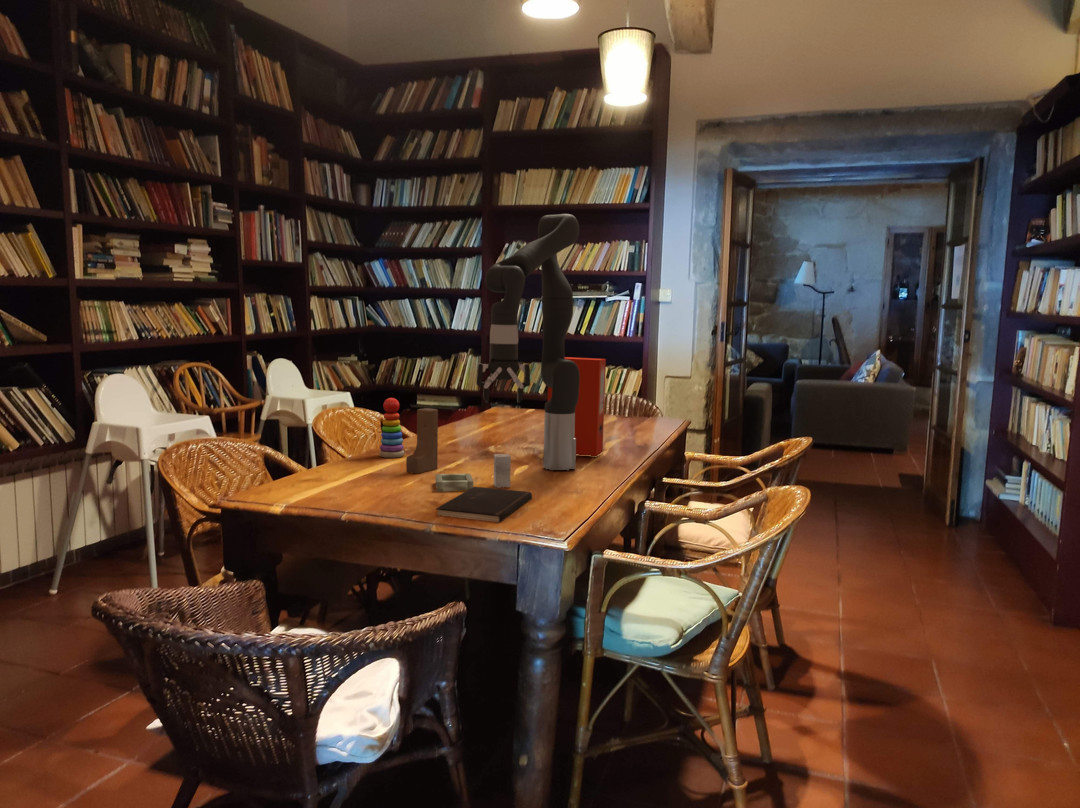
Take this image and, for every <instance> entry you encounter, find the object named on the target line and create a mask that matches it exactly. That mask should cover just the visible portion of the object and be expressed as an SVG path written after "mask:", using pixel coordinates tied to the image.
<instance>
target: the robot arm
mask: <svg viewBox="0 0 1080 808" xmlns="http://www.w3.org/2000/svg"><path fill="white" fill-rule="evenodd" d="M537 226H538V227H537V239H534V240H533V241H530V242H528V243H526V244H525V245H523V246H522V247H520V248H519V249H518V250H517V251H516V252H515V253H513V254H512V255H511V256H508V257H506V258H505V259H502V260H500V261H498V262H496V263H494V264H493V265H491V266H490V267H489V268H488V269H487V271H486V274H485V278H484V283H485V286H486V288H487V289H488V290H489V291H491V292H493V293H497V294H499V293H502V294H503V293H504V298H503V299H502V300H500V301H497V302H494V303H493V304H492V305H491V308H490V314H491V316H490V324H491V325H490V330H489V331H490V332H489V362H488V363H481V362H479V363H477V367H476V368H477V369H476V370H477V371H476V384H475V385H477V386H478V387H480V388H482V389H483V390H482V391H483V392H482V399H483V400H484V401H485V403H488V404H489V403H490V388H489V387H490V386H491V384H492V383H493V382H494V381H495V380H498V381H502V380H505V381H510V380H513V383H515V384H516V386H517V388H516V402H517V403H518V404H519V403H522V402H521V401H523V399H524V388H526V387H529V386H531V370H530V367H531V366H530V365H529V364H528V363H524V364H519V361H518V360H519V329H518V311H519V307H520V302H521V298H522V295H523V292H524V288H525V284H526V278H527V277H529V276H530V275H532V273H533V272H534V271H536V269H538V268H539V267H540V268H541V269H540V270H541V312H542V352H541V363H540V375H541V377H540V378H541V380H542V382H543V385H545V386H546V387H547V388H548V387H550V388H552V396H551V399H550V400H549V401H548V400H547V401H546V402H545V404H544V421H543V422H544V427H543V429H544V430H543V461H542V462H543V463H542V467H544V468H546V469H545V470H547V469H549V470H548V471H553V470H567V471H570V470H569V469H575V470H576V458H577V456H576V438H575V437H574V434H575V408H576V405H577V403H578V396H579V384H580V373H579V369H578V366H577V365H576V364H575V363H574V362H573V361H571V360H566V359H565V357H566V354H565V342H566V341H565V340H566V336H567V334H568V331H569V328H570V325H571V323H572V319H573V316H574V295H573V294H574V293H573V289H572V287H571V285H570V283H569V280H568V279H567V278H566V276H565V274H564V272H563V271H562V269H561V267H560V265H559V260H558V255H557V254H558V253H559V252H561V251H563V250H565V249H567V248H569V247H570V246H572V245H574V244H575V243H576V241H578V239H579V235H580V225H579V222H578V220H577V218H576V216H574V215H573V214H569V213H561V214H560V213H559V214H546V215H543V216H542V217H541V218H540V219H539V222H538V225H537ZM486 369H488V370H489V372H490V375H489V376H487V379H486V380H485V381H483V373H485V372H486ZM519 370H521V372H522V373H523V379H524V380H523V382H521V380H520V379H519V377H518V376H517V375H516V374H517V372H519ZM544 468H543V469H544Z"/></svg>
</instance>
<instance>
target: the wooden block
mask: <svg viewBox="0 0 1080 808" xmlns="http://www.w3.org/2000/svg"><path fill="white" fill-rule="evenodd" d="M416 415H417V416H416V447H415V449H414V452H413V453H412V454H410V455H408V456H406V458H405V460H406V462H405V463H406V464H405V465H406V467H405V468H406V469H405V470H406V472H407V473H411V472H412V474H416V473H418V474H422V473H425V472H429V470H430V471H434V470H437V469H438V466H439V465H438V461H439V460H438V451H439V449H438V445H439V443H438V439H439V438H438V437H439V436H438V434H439V433H438V432H439V429H438V427H439V425H438V421H439V419H438V418H439V410H438V409H437V408H430V407H424V408H418V409H416ZM436 468H437V469H436ZM433 469H434V470H433ZM421 472H422V473H421Z"/></svg>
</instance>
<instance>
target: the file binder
mask: <svg viewBox="0 0 1080 808" xmlns="http://www.w3.org/2000/svg"><path fill="white" fill-rule="evenodd" d="M565 359H566V360H571V361H573V362H574V363H575V364H576V365H577V366H578V369H579V373H580V384H579V396H578V403H577V405H576V408H575V434H574V437H575V438H576V454H579V455H591V456H597V455H598V454H600V453H601V452H603V451H604V450H603V449H604V448H603V447H604V423H605V422H604V419H605V393H606V365H607V364H606V363H607V362H606V361H607V359H606V358H591V357H590V358H589V357H571V356H569V357H568V356H567V357H566V356H565ZM551 396H552V388H550V387H548V386H547V401H549V400H550V399H551Z"/></svg>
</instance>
